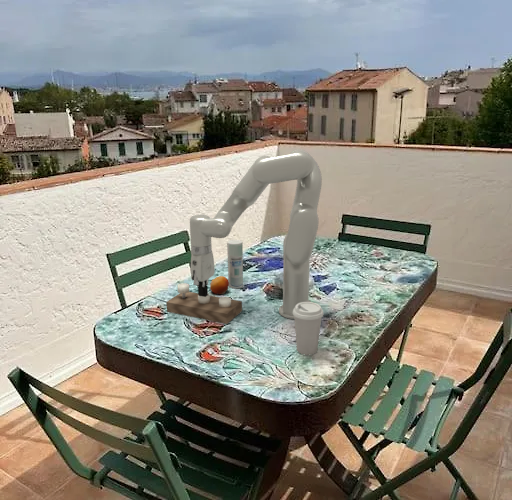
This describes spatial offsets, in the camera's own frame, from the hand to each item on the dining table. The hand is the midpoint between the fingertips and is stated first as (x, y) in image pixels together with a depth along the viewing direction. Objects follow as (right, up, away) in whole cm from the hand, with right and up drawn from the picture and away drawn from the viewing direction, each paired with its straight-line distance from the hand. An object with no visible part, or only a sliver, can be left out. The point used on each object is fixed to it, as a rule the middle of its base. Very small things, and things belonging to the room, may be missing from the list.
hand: (203, 295), depth 172 cm
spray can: (+11, +1, +27) cm, 29 cm away
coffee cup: (+36, -15, -27) cm, 47 cm away
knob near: (+8, -6, -2) cm, 11 cm away
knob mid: (0, -5, +1) cm, 5 cm away
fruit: (+5, -1, +20) cm, 21 cm away
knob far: (-8, -1, +4) cm, 9 cm away
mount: (0, -6, +2) cm, 7 cm away
